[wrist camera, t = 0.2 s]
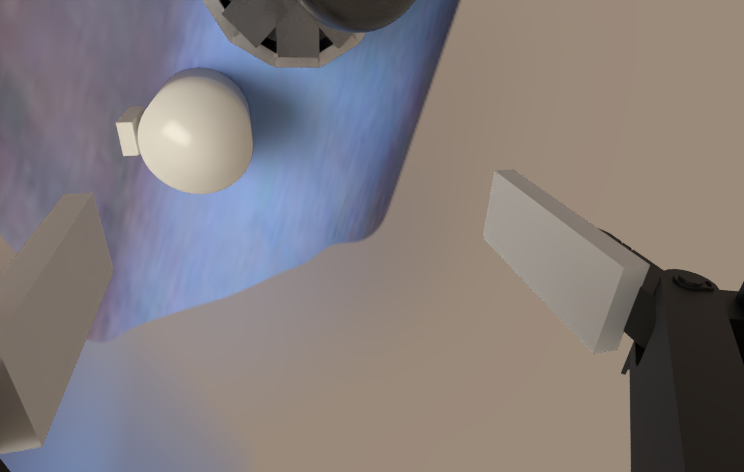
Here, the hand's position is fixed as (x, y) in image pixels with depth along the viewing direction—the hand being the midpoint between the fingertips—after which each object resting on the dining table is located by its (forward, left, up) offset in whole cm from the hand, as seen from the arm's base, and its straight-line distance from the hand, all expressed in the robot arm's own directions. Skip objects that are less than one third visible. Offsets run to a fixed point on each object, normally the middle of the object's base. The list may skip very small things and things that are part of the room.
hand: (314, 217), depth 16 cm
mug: (+3, -5, -29) cm, 29 cm away
